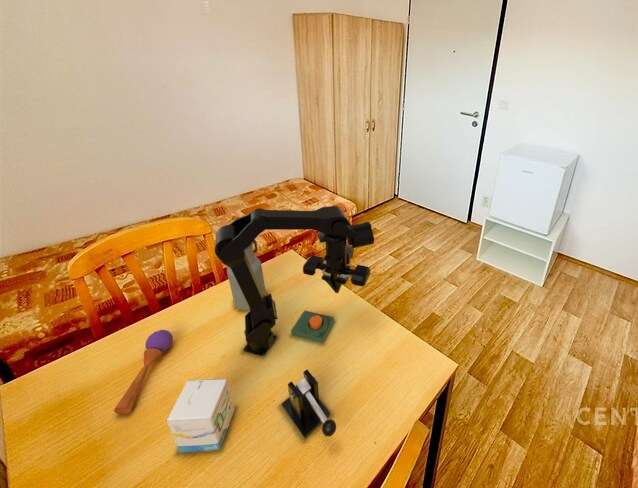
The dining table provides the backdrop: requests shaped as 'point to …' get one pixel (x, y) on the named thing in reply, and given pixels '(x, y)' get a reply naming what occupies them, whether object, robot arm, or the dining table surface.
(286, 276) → the dining table surface
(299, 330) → the button panel
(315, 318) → the button
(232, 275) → the water bottle
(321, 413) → the lever
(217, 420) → the ink box
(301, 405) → the bracket
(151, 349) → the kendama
